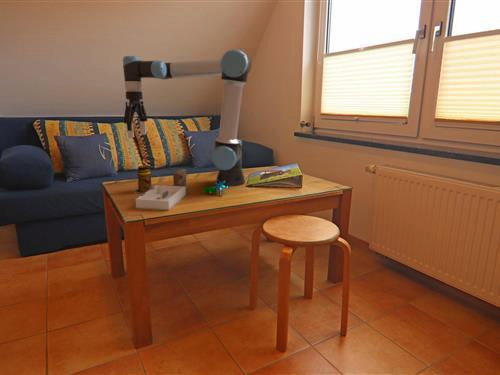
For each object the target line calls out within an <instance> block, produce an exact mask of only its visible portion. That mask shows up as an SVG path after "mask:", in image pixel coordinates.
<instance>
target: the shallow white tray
mask: <svg viewBox="0 0 500 375" xmlns="http://www.w3.org/2000/svg"><path fill="white" fill-rule="evenodd" d="M186 189H187V186H186V187H180V186H174V185H155V186H153V187H152V188H151V189H150V190H149V191H147V192H146V193H140V195H139V196H138V197H136V198H135V209H137V210H138V209H140V210H155V211H157V210H158V211H170V210H171V209H173V207H175V206H176V205H177V204H178V203H179V202H180V201H181V200H182V199H183V198H185V197H186V196H187V191H186Z"/></svg>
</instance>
